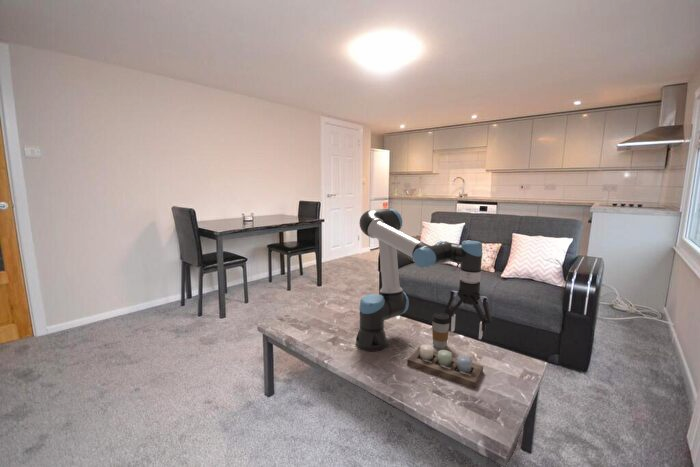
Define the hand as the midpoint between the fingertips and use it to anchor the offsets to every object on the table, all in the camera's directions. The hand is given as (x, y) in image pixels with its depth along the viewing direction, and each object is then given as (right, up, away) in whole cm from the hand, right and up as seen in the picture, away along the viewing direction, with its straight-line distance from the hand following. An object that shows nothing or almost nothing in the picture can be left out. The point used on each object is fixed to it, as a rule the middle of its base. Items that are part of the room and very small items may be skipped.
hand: (466, 334), depth 129 cm
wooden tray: (-7, -17, +7) cm, 19 cm away
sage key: (-7, -14, +7) cm, 17 cm away
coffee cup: (-3, -14, +26) cm, 30 cm away
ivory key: (-13, -13, +11) cm, 22 cm away
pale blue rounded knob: (0, -15, +2) cm, 15 cm away
